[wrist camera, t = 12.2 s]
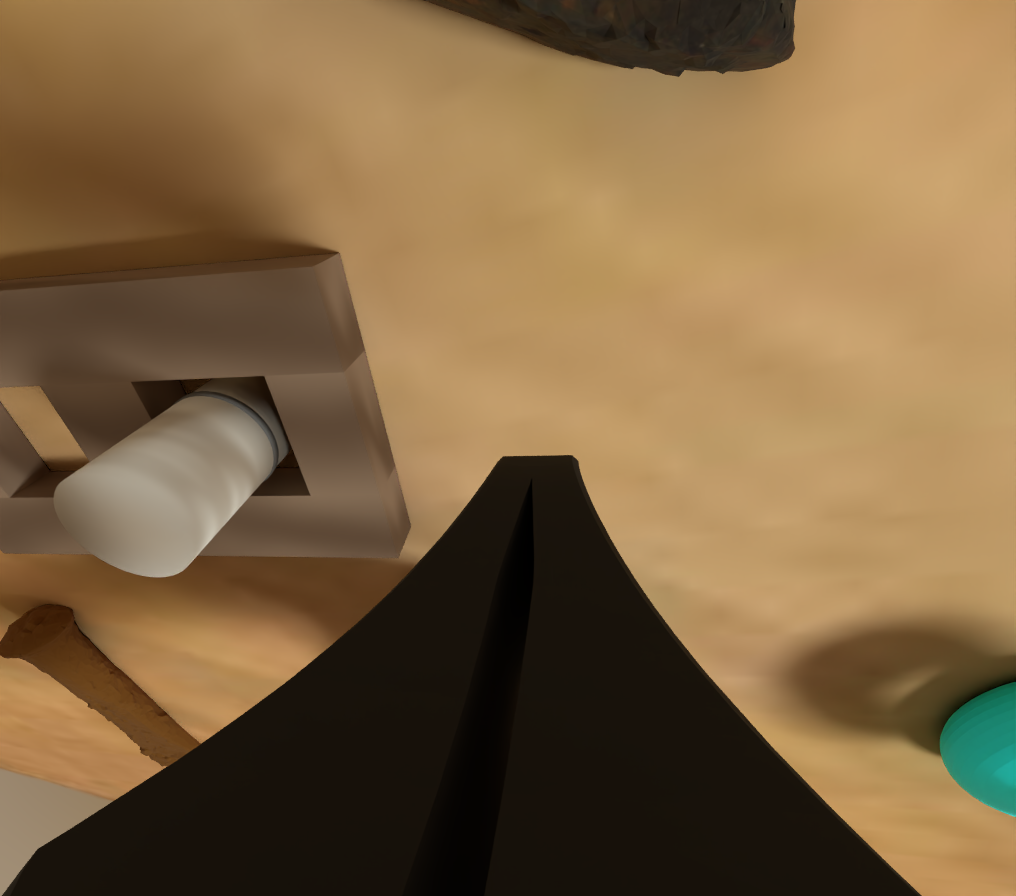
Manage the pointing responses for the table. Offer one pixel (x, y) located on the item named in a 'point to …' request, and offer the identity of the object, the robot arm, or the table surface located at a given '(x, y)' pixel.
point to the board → (197, 355)
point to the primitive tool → (94, 680)
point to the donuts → (984, 747)
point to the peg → (175, 478)
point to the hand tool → (650, 30)
